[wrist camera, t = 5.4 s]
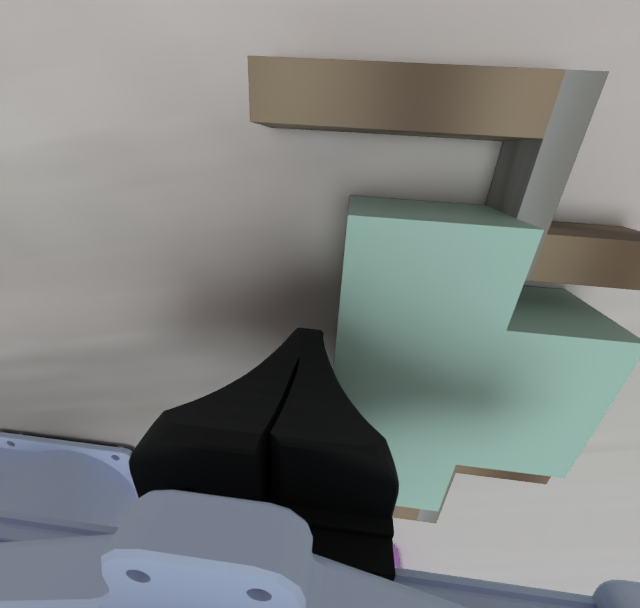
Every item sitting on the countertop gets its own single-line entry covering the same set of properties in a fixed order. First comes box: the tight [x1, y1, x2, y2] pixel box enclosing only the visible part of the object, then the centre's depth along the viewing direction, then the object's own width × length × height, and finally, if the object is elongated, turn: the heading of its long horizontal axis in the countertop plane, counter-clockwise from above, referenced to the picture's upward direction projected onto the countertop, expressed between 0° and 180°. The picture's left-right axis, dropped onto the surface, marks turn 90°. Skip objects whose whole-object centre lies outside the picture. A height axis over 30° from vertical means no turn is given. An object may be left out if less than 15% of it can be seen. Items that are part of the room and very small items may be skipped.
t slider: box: [333, 196, 640, 511], centre depth 12 cm, size 9×12×4 cm
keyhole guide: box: [248, 56, 640, 523], centre depth 13 cm, size 13×19×2 cm
